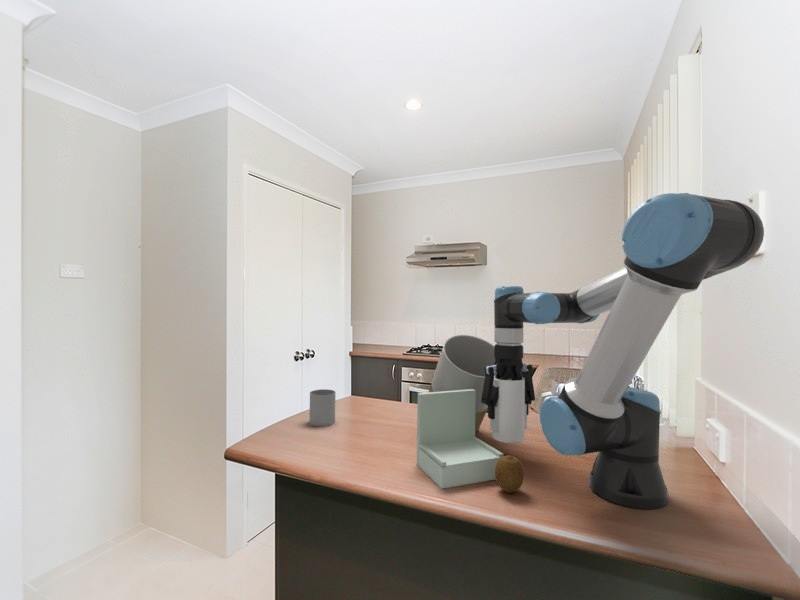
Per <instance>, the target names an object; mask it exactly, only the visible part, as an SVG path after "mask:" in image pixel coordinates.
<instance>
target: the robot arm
mask: <svg viewBox="0 0 800 600" xmlns="http://www.w3.org/2000/svg"><path fill="white" fill-rule="evenodd" d="M624 224H625V225H624V227H623V229H622V235H621V241H623V244H622V250H623V253H624V254H625V256H626V257H625V259H624V260H623V263H622V264H623V266H624V267H621V268H619V269H617V270H615V271H613V272H611V273H609V274H608V275H605V276H603V277H601V278H599V279H597V280H595V281H592V282H591V283H588V284H586V285H584V286H583V287H581V288H578V289H577V290H574V291H572V292H567V293H566V292H565V293H564V292H563V293H561V292H546V291H535V292H526V293H525V292H524V288H523V286H518V285H501V286H497V287H496V288H495V290H494V300H493V303H494V304H493V306H494V307H493V308H494V309H493V311H494V316H493V319H494V342H495V343H496V344H495V345H494V357H495V363H494V365H493V366H485V368H484V369H485V380H484V386H483V392H482V398H481V402H482V403H483V404H486V405H487V406H488V410H487V417H488V419H489V422H490V423H489V424H490V426H489V430H490V431H492V432H493V431H494V432H496V433H497V432H499V407H497V406H496V404H497V401H498V398H499V386H498V387H495V386H494V385H493V382H494V374H495V370H496V372H497V374H496V376H495V378H496V379H500V380H508V379H512V380H513V381H515V380H523V379H522V377H523V378H524V379H525V430H527V427H528V426H527V425H528V423H527V422H528V421H527V419H528V417H527V416H528V415H529V413H530V412H529V411H530V410H529V409H530V408H529V405H532V403H533V402H534V401H535V400H536V395H535V388H534V382H533V375H532V370H533V365H532V364H530V363H529V364H528V363H524V362H523V359H524V346H523V345H522V344H523V343H524V342H525V341H524V323H525V324H526V323H527V324H535V325H546V324H560V323H561V324H586V323H592V322H594V321H595V320H597V318H598V317H599V316H600V314H604V313H606V312H609V313H608V314H607V317H606V319H605V321H604V323H603V325H602V327H601V329H600V330H599V333H598V335H597V337H596V339H595V341H594V342H593V345H592V347H591V349H590V351H589V353H588V355H587V357H586V359H585V361H584V364H583V366H582V367H581V369H580V371H579V373H578V375H577V376H576V377H569V378H568V379H567V380H566V382H565V383H564V385H563V388H562V389H561V391H560V393H559V395H558V396H553V395H552V396H549V397H548V398H546V399H545V400H544V401H542V402H541V403H542V404H541V406H540V409H539V421H540V424H541V430H542V433H543V434H544V437H545V439H546V441H547V442H548V444H549V445H550V446H551V447H552V448H553V449H554V451H556V452H557V453H559V454H561V455H565V456H578V457H579V456H583V455H588V454H594V453H597V455H596V457H595V460H594V462H593V466H592V467H591V468H592V469H591V471H590V473H589V476H588V477H589V478H588V479H589V481H588V482H589V488H590V489H591V491H592V492H594V493H595V494H596V495H598V496H599V497H600V498H603V499H605V500H607V501H609V502H612V503H614V504H617V505H621V506H623V507H624V506H625V507H628V508H629V507H630V508H634V509H644V510H653V509H654V510H655V509H660V508H663V507H664V506H666V505H667V504H668V502H669V501H668V498H669V495H668V494H669V492H668V488H667V485H666V482H665V480H664V475H663V473H662V469H661V466H660V463H659V462H660V461H659V460H660V459H659V457H660V455H659V453H660V428H661V427H660V423H661V422H660V421H661V419H660V418H661V414H662V411H661V408H660V405H661V404H660V402H661V401H660V398H659V397H658V395H656V394H655V393H654V392H652V391H648V390H646V389H641V388H635V387H631V386H630V384H631V383H632V381H633V380H634V378H635V376H636V374H637V372H638V370H639V369H640V367H641V365H642V364H643V362H644V360H645V359H646V357H647V355H648V353H649V352H650V351H651V348H652V346H653V345H654V343H655V341H656V339H657V338H658V336H659V334H660V333H661V330H662V329H663V327H664V326H665V324H666V322H667V320H668V318H669V317H670V315H671V314H672V311H673V310H674V308H675V306H676V305H677V304H678V301H679V300H680V298H681V296H682V295H684V294H687V293H688V294H689V293H691V292H695V291H697V290H698V288H699V287H700V285H701V284H702V281H704V280H707V279H709V278H712V277H714V276H717V275H720V274H723V273H726V272H727V271H731V270H734V269H737V268H738V267H740V266H742V265H744V264H747V262H748V261H750V260H751V259H753V257H754V256H755V255H756V254H757V252H758V251H759V250H760V249H761V247H762V244H763V241H764V237H765V227H764V224H763V221H762V218H761V217H760V215H759V214H758V213H757V212H756V211H755V209H753V208H752V207H750V206H748V205H747V204H746V203H743V202H741V201H740V202H739V201H736V200H731V199H721V198H716V197H709V196H703V195H699V194H691V193H689V192H679V193H675V192H674V193H671V192H670V193H669V192H668V193H662V194H658V195H655V196H652V197H651V198H649V199H647V200H645V201H643V202H642V203H641V204H639V205H638V206H637V207H635V209H634V210H633V212H632V213H631V214H630V215H629V217H628V218H627V220H626V222H625V223H624ZM629 386H630V387H629Z"/></svg>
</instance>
